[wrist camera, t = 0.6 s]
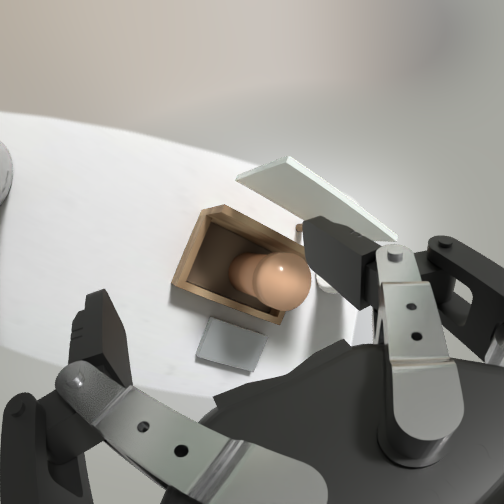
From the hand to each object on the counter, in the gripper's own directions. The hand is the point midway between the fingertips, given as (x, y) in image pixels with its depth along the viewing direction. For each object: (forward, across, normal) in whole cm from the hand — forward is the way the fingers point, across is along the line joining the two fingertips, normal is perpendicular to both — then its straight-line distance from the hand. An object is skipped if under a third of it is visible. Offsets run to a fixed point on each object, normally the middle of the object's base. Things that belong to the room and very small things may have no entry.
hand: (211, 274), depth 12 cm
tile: (+18, -3, +22) cm, 29 cm away
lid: (+18, -12, +7) cm, 23 cm away
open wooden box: (+23, -8, +13) cm, 27 cm away
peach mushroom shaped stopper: (+21, -7, +14) cm, 27 cm away
